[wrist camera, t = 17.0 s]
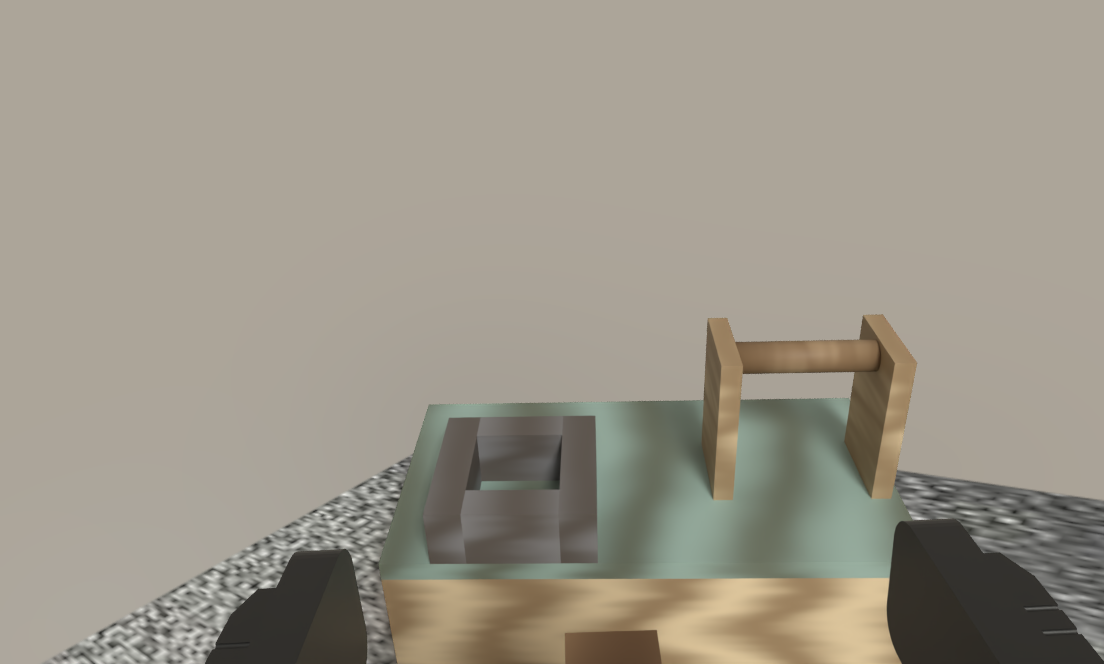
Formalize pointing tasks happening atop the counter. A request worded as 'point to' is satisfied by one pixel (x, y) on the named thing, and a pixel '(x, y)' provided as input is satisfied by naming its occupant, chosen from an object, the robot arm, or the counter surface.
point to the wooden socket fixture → (661, 517)
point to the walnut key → (612, 647)
